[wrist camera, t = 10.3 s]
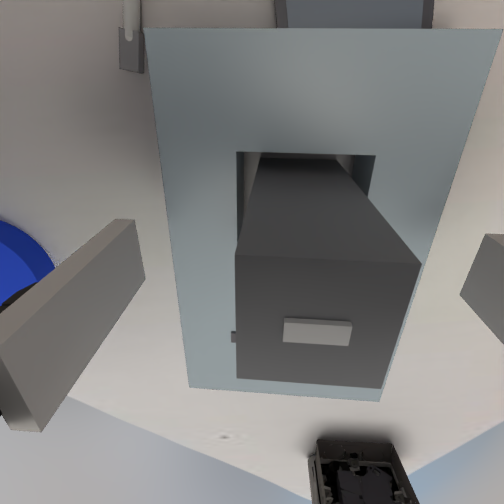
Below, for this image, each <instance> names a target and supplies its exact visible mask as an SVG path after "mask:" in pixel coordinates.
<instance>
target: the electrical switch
mask: <svg viewBox="0 0 504 504" xmlns="http://www.w3.org/2000/svg"><path fill="white" fill-rule="evenodd" d="M331 444H332V445H331ZM344 449H345V450H344ZM345 451H346V454H345V456H344V453H345ZM362 451H363V458H362ZM353 452H356V453H357V454H358V458H349V456H350V453H353ZM315 455H316V456H313V455H311V457H310V458H309V459H308V469H309V479H310V488H311V497H312V504H419V501H418V499H417V497H416V495H415V493H414V490H413V488H412V486H411V484H410V481H409V479H408V477H407V475H406V472H405V470H404V468H403V466H402V463H401V461H400V459H399V457H398V454H397V452H396V450H395V448H394V446H393V447H392V444H384V443H365V442H347V441H328V440H317V450H316V453H315ZM343 456H344V457H343Z"/></svg>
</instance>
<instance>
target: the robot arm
mask: <svg viewBox="0 0 504 504" xmlns="http://www.w3.org/2000/svg"><path fill="white" fill-rule="evenodd" d="M144 280H145V273H144V268H143V262H142V257H141V252H140V246H139V241H138V235H137V230H136V225H135V220H131V219H115V220H113V221H112V222H111V223H110V224H109V225H107V226H106V227H105V228H104V229H102V230H101V231H100V232H99V233H98V234H96V235H95V236H94V237H93V238H92V239H90V240H89V241H88V242H87V243H85V244H84V245H83V246H82V247H81V248H79V249H78V250H77V251H76V252H75V253H73V254H72V255H71V256H70V257H68V258H67V259H66V260H65V261H64V262H62V263H61V264H60V265H59V266H58V267H56V268H55V269H54V270H53V271H51V272H50V273H49V274H48V275H47V276H45V277H44V278H43V279H42V280H41V281H39V282H35V283H33V284H31V285H29V286H27V287H25V288H23V289H21V290H19V291H17V292H16V293H14V294H13V295H12V296H11V297H9V298H8V299H7V300H6V301H4V302H3V303H2V306H0V416H1V415H2V416H3V418H4V419H5V421H6V423H7V424H8V426H9V428H10V429H11V430H17V431H30V432H42V431H43V429H44V428H45V427H46V425H47V424H48V422H49V421H50V419H51V418H52V416H53V415H54V413H55V412H56V410H57V409H58V407H59V406H60V404H61V403H62V401H63V400H64V398H65V397H66V396H67V394H68V393H69V391H70V390H71V388H72V387H73V385H74V384H75V382H76V381H77V379H78V378H79V376H80V375H81V373H82V372H83V370H84V369H85V368H86V366H87V365H88V363H89V362H90V360H91V359H92V357H93V356H94V354H95V353H96V351H97V350H98V348H99V347H100V345H101V344H102V342H103V341H104V339H105V338H106V337H107V335H108V334H109V332H110V331H111V329H112V328H113V326H114V325H115V323H116V322H117V320H118V319H119V317H120V316H121V314H122V313H123V311H124V310H125V308H126V307H127V306H128V304H129V303H130V301H131V300H132V298H133V297H134V295H135V294H136V292H137V291H138V289H139V288H140V286H141V285H142V283H143V282H144ZM460 296H461V297H462V298H463V299H464V300H465V302H466V303H467V304H468V305H469V306H470V307H471V308H472V309H473V311H474V312H475V313H476V314H477V315H478V316H479V317H480V318H481V320H482V321H483V322H484V323H485V324H486V325H487V326H488V327H489V329H490V330H491V331H492V332H493V333H494V334H495V335H496V337H497V338H498V339H499V340H500V341H501V342H502V343H503V344H504V234H485V236H484V238H483V240H482V243H481V245H480V248H479V250H478V252H477V255H476V257H475V259H474V262H473V264H472V266H471V269H470V271H469V274H468V276H467V278H466V281H465V283H464V285H463V288H462V290H461V292H460Z"/></svg>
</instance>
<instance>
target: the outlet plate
mask: <svg viewBox="0 0 504 504" xmlns="http://www.w3.org/2000/svg"><path fill="white" fill-rule="evenodd" d="M143 29H144V36H145V44H146V52H147V60H148V68H149V76H150V84H151V91H152V99H153V107H154V115H155V123H156V131H157V139H158V146H159V154H160V162H161V170H162V178H163V186H164V193H165V201H166V209H167V217H168V225H169V233H170V241H171V248H172V256H173V264H174V272H175V280H176V288H177V295H178V303H179V311H180V319H181V327H182V335H183V343H184V350H185V358H186V366H187V374H188V382H189V387H190V388H203V389H216V390H229V391H242V392H255V393H268V394H281V395H294V396H307V397H321V398H334V399H347V400H360V401H373V402H379V401H380V398H381V395H382V392H383V389H384V386H385V383H386V380H387V377H388V374H389V371H390V368H391V365H392V362H393V359H394V356H395V353H396V350H397V347H398V344H399V341H400V338H401V335H402V332H403V329H404V326H405V323H406V320H407V317H408V314H409V311H410V308H411V305H412V302H413V299H414V296H415V293H416V290H417V287H418V284H419V281H420V278H421V275H422V272H423V269H424V266H425V263H426V260H427V257H428V254H429V251H430V248H431V245H432V242H433V239H434V236H435V233H436V230H437V227H438V224H439V221H440V218H441V215H442V212H443V209H444V206H445V203H446V200H447V197H448V194H449V191H450V188H451V185H452V182H453V179H454V176H455V173H456V170H457V167H458V164H459V161H460V158H461V155H462V152H463V149H464V146H465V143H466V140H467V137H468V134H469V131H470V128H471V125H472V122H473V119H474V116H475V113H476V110H477V107H478V104H479V101H480V98H481V95H482V92H483V89H484V86H485V83H486V80H487V77H488V74H489V71H490V68H491V65H492V62H493V59H494V56H495V53H496V50H497V47H498V44H499V41H500V38H501V35H502V32H503V29H352V28H143ZM260 158H292V159H325V160H337V161H338V162H339V163H340V165H341V166H342V167H343V168H344V169H345V171H346V172H347V173H348V174H349V175H350V177H351V178H352V179H353V180H354V182H355V183H356V184H357V185H358V186H359V188H360V189H361V190H362V191H363V193H364V194H365V195H366V196H367V197H368V199H369V200H370V201H371V202H372V204H373V205H374V206H375V207H376V208H377V210H378V211H379V212H380V213H381V214H382V216H383V217H384V218H385V219H386V221H387V222H388V223H389V224H390V225H391V227H392V228H393V229H394V230H395V232H396V233H397V234H398V235H399V236H400V238H401V239H402V240H403V241H404V243H405V244H406V245H407V246H408V247H409V249H410V250H411V251H412V252H413V253H414V255H415V256H416V257H417V258H418V260H419V261H420V262H421V263H422V266H421V269H420V272H419V275H418V278H417V281H416V284H415V287H414V290H413V293H412V296H411V299H410V302H409V305H408V308H407V311H406V314H405V317H404V321H403V324H402V327H401V330H400V333H399V336H398V339H397V342H396V345H395V348H394V351H393V354H392V357H391V360H390V363H389V366H388V369H387V372H386V376H385V379H384V382H383V385H382V388H381V389H373V388H360V387H346V386H332V385H319V384H305V383H292V382H278V381H265V380H251V379H238V378H236V318H235V251H236V247H237V243H238V240H239V236H240V232H241V228H242V224H243V220H244V217H245V213H246V209H247V205H248V201H249V198H250V194H251V190H252V186H253V182H254V179H255V175H256V171H257V167H258V163H259V160H260Z"/></svg>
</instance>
